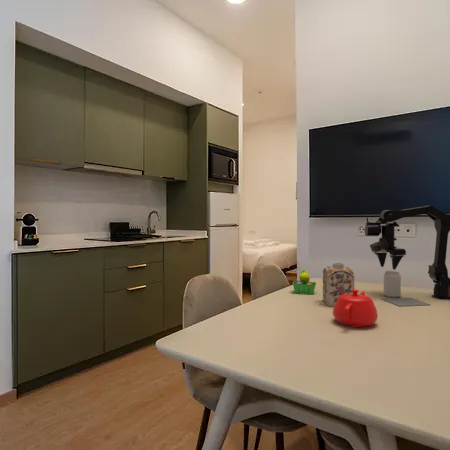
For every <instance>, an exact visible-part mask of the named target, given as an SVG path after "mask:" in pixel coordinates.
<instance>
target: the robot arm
mask: <svg viewBox="0 0 450 450" xmlns="http://www.w3.org/2000/svg"><path fill="white" fill-rule="evenodd" d="M422 215H426V216H428V217H429V218H430V219H431V220H432V221H433V223H434V224H433V225H434V229H435V232H436V235H435V236H436V237H435V249H434V259H433V263H432V265H431V264H429V265H428V272H427V274H428V276H429V278H430V279H431V280H432V282H433V283H434V284H433V285H434V286H433V294H431V297H434V298H438V299H440V300H449V299H450V277H449V271H448V267H447V265H446V259H447V249H448V238H449V233H450V214H448V213H445V212H444V211H442V210H440V209H437V208H436V207H434V206H433V205H424V206H418V207H411V208H405V209H384V210H382V211H381V212H380V214H379V217H378V218H377V220H376V222H373V221H372V222H369V221H365V226H364V236H365V237H379V235H381V237H379V238H378V241H376V242H373V243H372V244H369V247H370V250H371V252H373V254H374V255H376V256H377V259H378V262H379V265H380V268H384V266H385V263H386V259H387V255H388V253H389V255H388V256H389V257H390V258H391V266H392V271H395V270H396V269H397V267H398V265H399V264H400V262H401V260H402V259H403V257H405V256H406V255H407V250H406V249H405V248H399V247H397V246H395V244H396V243H395V241H397V240H398V239H397V237H395V236H396V235H395V228H396V227H400V224H398V223H397V222H396V221H398V220H401V219H403V218H408V217H414V216H415V217H416V216H422Z"/></svg>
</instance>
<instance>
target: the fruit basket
mask: <svg viewBox="0 0 450 450" xmlns="http://www.w3.org/2000/svg"><path fill="white" fill-rule="evenodd" d="M298 277H299V280H295V281H293V282H292V286H293V290H294V294H301V295H303V294H304V295H314V292H315V288H316V285H317V282H316V281H310V278H311V276H310V273H309V272H308V270H307V269H302V270H301V272H300V274H299V276H298Z"/></svg>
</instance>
